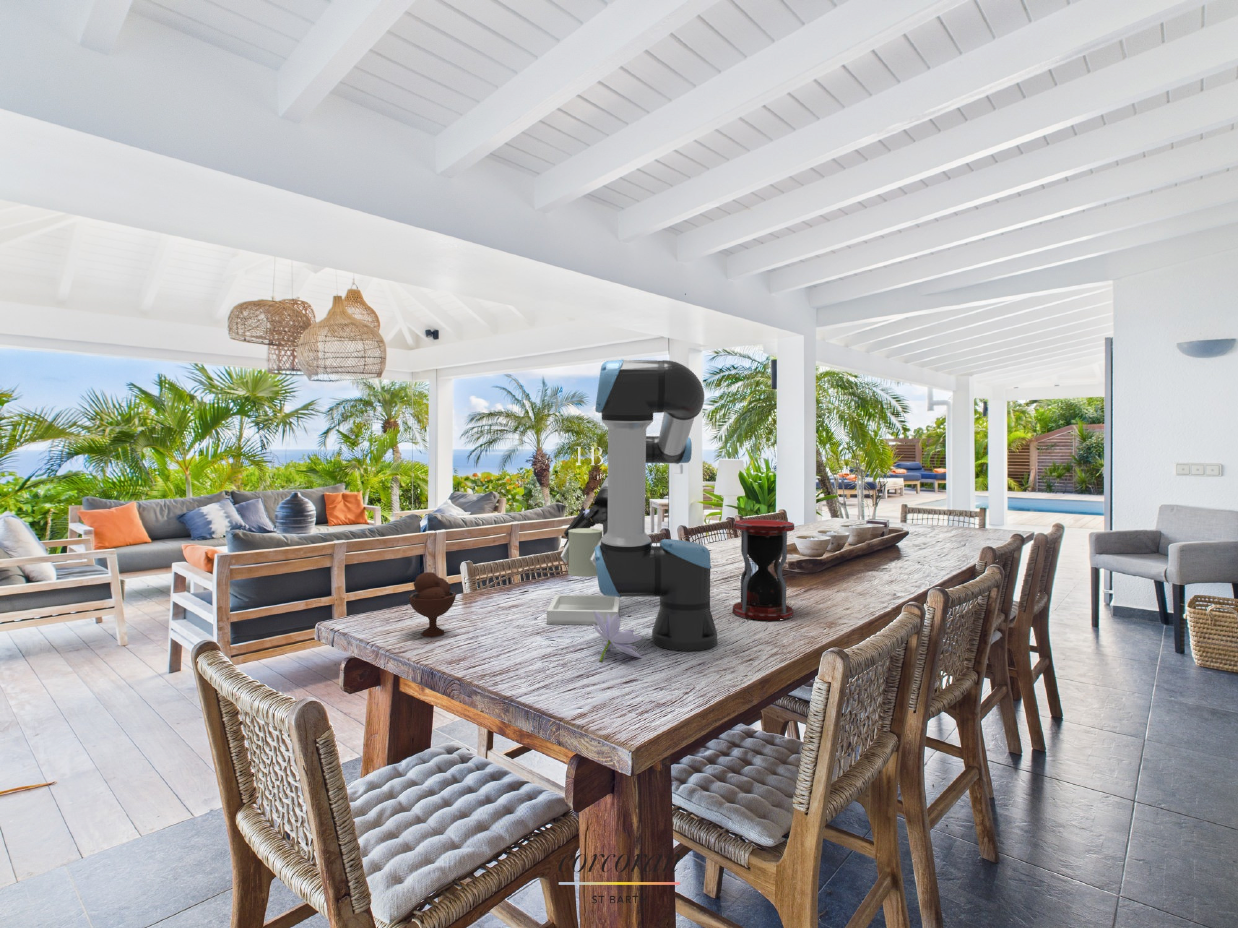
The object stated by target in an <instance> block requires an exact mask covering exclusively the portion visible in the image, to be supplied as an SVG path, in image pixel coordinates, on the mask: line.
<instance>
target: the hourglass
mask: <svg viewBox="0 0 1238 928" xmlns="http://www.w3.org/2000/svg"><path fill="white" fill-rule="evenodd" d="M733 528H734V530H738V531H741V536H740V537H741V538H740V539H741V540H740V543H741V544H740V548H741V549H740V552H741V555H742V558H743V562H744V570H743V571H742V572H741V576H740V601H739V602H736V603H734V604H733V605H732V613H733V615H735V616H737V617H739V618H742V619H746V618H748V619H747V620H750V619H756V620H755V621H758V620H766V621H765V622H772V621H771V620H780V619H786V620H788V619H787V618H789V619H791V618H792V617H793V616H794V609H793V608H792V607H791V606H790V605H788V604H787V583H786V581H785V579H784V577H783V567H784V565H785V564H786V562H787V558H788V533H789V532H793V531H794V530H795V523H794V522H791V521H786V520H781V519H780V520H778V519H759V518H758V519H754V518H753V519H737V520H735V521H733ZM750 559H751V560H752V561H753V563H754V564H755V565H756V566H757V568H758V569H757V570H756V571H755V572H754V573H753V568H752V564H751V562H750V561H751V560H750ZM772 564H773V571H774V573H775V575H776V577H777V578H776V577H775V575H774V574H772V572H771V571H770V570H769V567H770V566H771V565H772ZM752 573H753V574H752ZM791 616H792V617H791ZM790 617H791V618H790ZM767 620H768V621H767ZM780 621H781V620H780Z"/></svg>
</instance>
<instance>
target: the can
mask: <svg viewBox="0 0 1238 928" xmlns="http://www.w3.org/2000/svg"><path fill="white" fill-rule="evenodd" d="M568 533H569V559H568V570H567V571H568V572H567V574H568V575H569V576H571V577H580V578H587V577H588V578H589V577H597V571H596V566H594V565H593V563H592V562H591V560H590V559H591V557H592V555H593V553H594V551H595V547H596V546H597V545H598V543H599V541H600V540H601V538H602V537H603V529H600V528H594V527H593V528H592V527H590V528H578V529H571V530H568Z"/></svg>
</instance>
